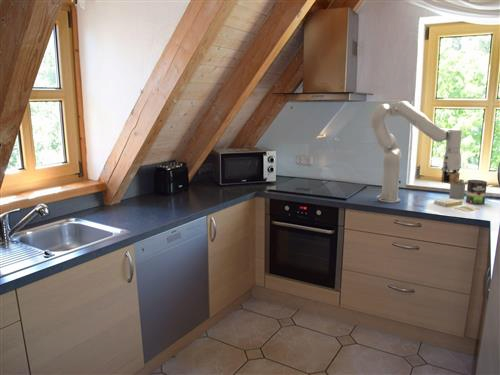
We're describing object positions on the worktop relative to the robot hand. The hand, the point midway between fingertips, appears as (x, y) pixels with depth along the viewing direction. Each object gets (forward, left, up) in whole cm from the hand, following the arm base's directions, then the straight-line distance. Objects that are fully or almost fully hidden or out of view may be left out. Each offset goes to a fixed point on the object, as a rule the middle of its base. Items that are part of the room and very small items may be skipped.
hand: (450, 180), depth 251 cm
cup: (+19, +9, -15) cm, 26 cm away
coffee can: (+17, -5, -15) cm, 24 cm away
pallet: (0, -12, -15) cm, 20 cm away
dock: (0, 0, -15) cm, 15 cm away
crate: (0, 0, -1) cm, 1 cm away
